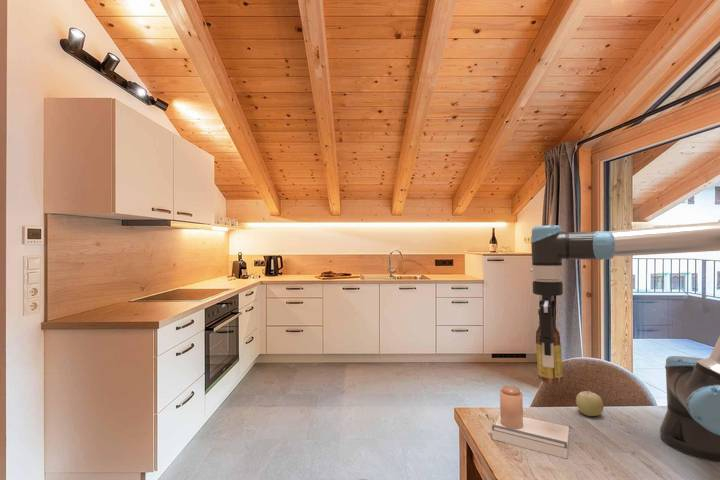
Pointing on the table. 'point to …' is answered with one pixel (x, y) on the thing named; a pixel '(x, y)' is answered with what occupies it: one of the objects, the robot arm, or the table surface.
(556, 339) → the sauce bottle
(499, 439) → the white rectangular box
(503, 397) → the terracotta jar
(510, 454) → the table surface
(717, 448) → the robot arm
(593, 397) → the fruit
